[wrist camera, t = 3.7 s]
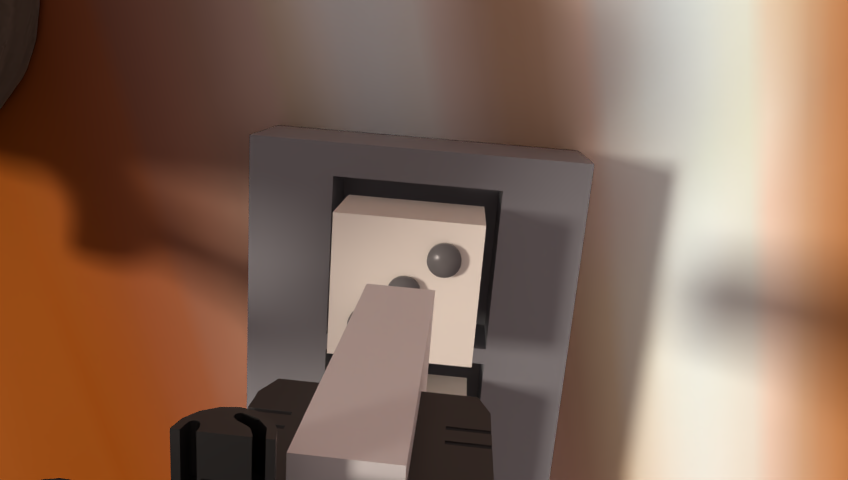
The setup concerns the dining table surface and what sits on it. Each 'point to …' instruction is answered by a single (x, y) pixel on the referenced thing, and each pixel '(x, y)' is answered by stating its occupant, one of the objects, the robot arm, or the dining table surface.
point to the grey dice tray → (500, 277)
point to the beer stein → (16, 42)
